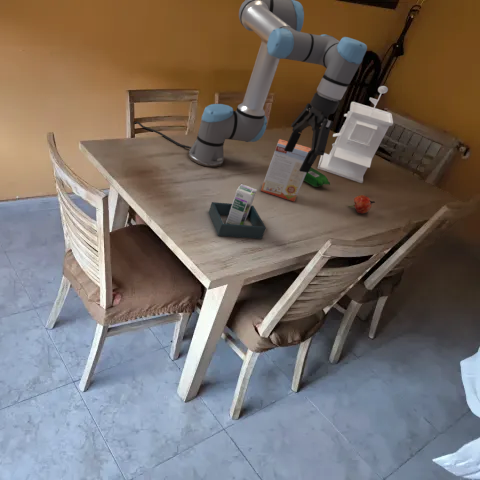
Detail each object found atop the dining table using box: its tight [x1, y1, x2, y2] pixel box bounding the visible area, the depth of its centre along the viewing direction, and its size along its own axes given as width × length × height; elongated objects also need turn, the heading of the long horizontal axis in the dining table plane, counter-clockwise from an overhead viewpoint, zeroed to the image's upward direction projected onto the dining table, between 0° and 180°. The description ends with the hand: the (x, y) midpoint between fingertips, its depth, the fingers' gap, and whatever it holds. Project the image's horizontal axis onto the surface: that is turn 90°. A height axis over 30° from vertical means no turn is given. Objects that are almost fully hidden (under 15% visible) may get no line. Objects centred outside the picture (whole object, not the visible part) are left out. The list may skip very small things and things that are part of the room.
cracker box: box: [260, 138, 311, 202], centre depth 167 cm, size 14×6×21 cm, turn 71°
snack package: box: [303, 166, 331, 188], centre depth 187 cm, size 7×16×5 cm, turn 35°
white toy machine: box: [317, 85, 394, 184], centre depth 197 cm, size 24×28×40 cm
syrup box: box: [225, 183, 258, 225], centre depth 143 cm, size 6×6×14 cm
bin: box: [208, 201, 267, 240], centre depth 146 cm, size 16×14×4 cm
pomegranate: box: [348, 194, 376, 214], centre depth 172 cm, size 7×7×10 cm
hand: (295, 161), depth 136 cm, fingers open, 13 cm apart
